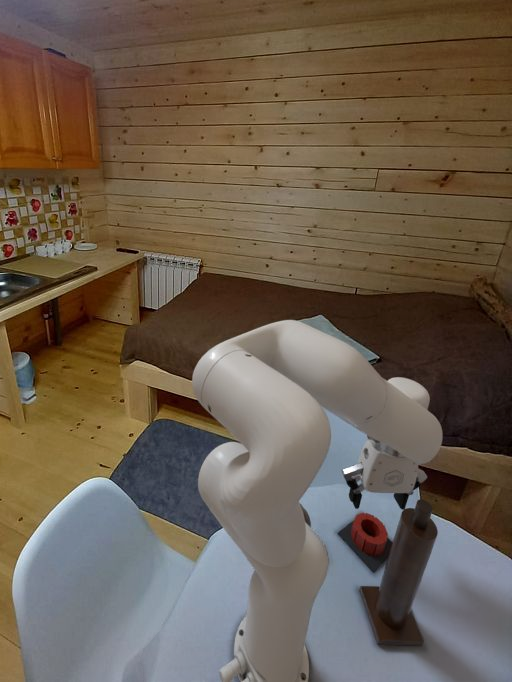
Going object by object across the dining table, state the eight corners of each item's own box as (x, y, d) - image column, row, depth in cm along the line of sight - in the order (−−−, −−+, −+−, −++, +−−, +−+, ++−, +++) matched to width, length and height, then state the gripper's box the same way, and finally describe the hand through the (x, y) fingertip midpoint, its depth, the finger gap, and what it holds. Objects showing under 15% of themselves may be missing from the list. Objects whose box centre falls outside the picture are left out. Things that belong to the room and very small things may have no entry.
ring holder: (377, 644, 60) (413, 530, 51) (358, 590, 68) (387, 482, 58) (422, 645, 60) (467, 532, 51) (398, 591, 68) (434, 483, 58)
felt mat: (372, 572, 71) (373, 571, 71) (337, 533, 78) (337, 532, 78) (398, 549, 75) (398, 547, 75) (362, 514, 83) (362, 513, 83)
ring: (372, 562, 72) (375, 551, 71) (344, 533, 78) (347, 522, 77) (391, 545, 76) (394, 533, 75) (363, 518, 81) (365, 507, 80)
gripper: (358, 453, 63) (343, 519, 69) (450, 455, 64) (427, 521, 69) (343, 423, 70) (329, 486, 76) (425, 425, 71) (406, 487, 76)
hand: (376, 502), depth 72 cm, fingers open, 9 cm apart
